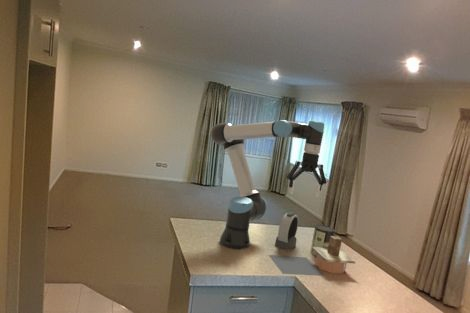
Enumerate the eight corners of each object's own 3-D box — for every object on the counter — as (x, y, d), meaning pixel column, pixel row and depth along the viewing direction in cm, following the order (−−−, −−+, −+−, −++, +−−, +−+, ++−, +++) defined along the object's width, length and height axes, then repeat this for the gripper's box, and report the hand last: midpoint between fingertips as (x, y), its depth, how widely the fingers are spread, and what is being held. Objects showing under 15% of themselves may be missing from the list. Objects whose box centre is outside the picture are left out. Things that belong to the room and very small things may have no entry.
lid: (325, 261, 167) (329, 242, 166) (311, 248, 181) (314, 231, 180) (355, 263, 170) (358, 244, 169) (338, 250, 185) (342, 233, 184)
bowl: (324, 273, 169) (326, 260, 168) (311, 261, 181) (314, 249, 181) (349, 274, 172) (351, 262, 171) (335, 262, 184) (338, 251, 184)
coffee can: (329, 252, 198) (334, 227, 196) (330, 259, 188) (335, 232, 186) (310, 248, 200) (314, 223, 198) (309, 255, 190) (315, 228, 188)
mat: (282, 274, 160) (282, 273, 160) (268, 255, 179) (268, 254, 179) (324, 276, 165) (324, 275, 165) (306, 258, 184) (306, 257, 184)
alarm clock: (289, 252, 189) (295, 217, 187) (270, 246, 194) (276, 212, 192) (299, 244, 203) (305, 212, 201) (281, 239, 208) (287, 207, 206)
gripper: (290, 150, 173) (282, 194, 176) (338, 157, 179) (330, 199, 182) (284, 148, 180) (277, 191, 183) (330, 155, 187) (323, 196, 189)
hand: (303, 195), depth 182 cm, fingers open, 13 cm apart
